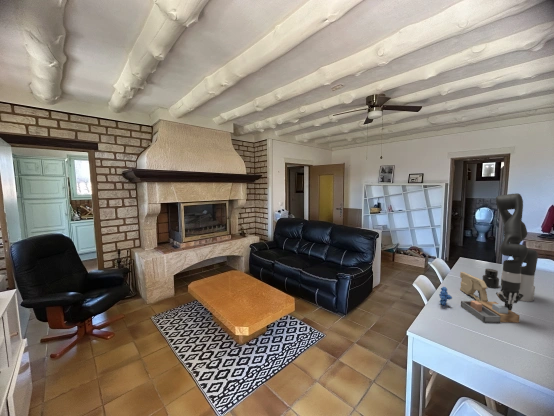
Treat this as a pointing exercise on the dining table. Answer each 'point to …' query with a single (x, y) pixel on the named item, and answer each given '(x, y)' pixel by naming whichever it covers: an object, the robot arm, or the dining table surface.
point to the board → (504, 316)
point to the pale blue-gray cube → (500, 308)
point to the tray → (481, 313)
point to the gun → (473, 286)
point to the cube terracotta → (476, 306)
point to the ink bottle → (491, 278)
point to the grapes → (444, 296)
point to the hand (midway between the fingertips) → (508, 309)
